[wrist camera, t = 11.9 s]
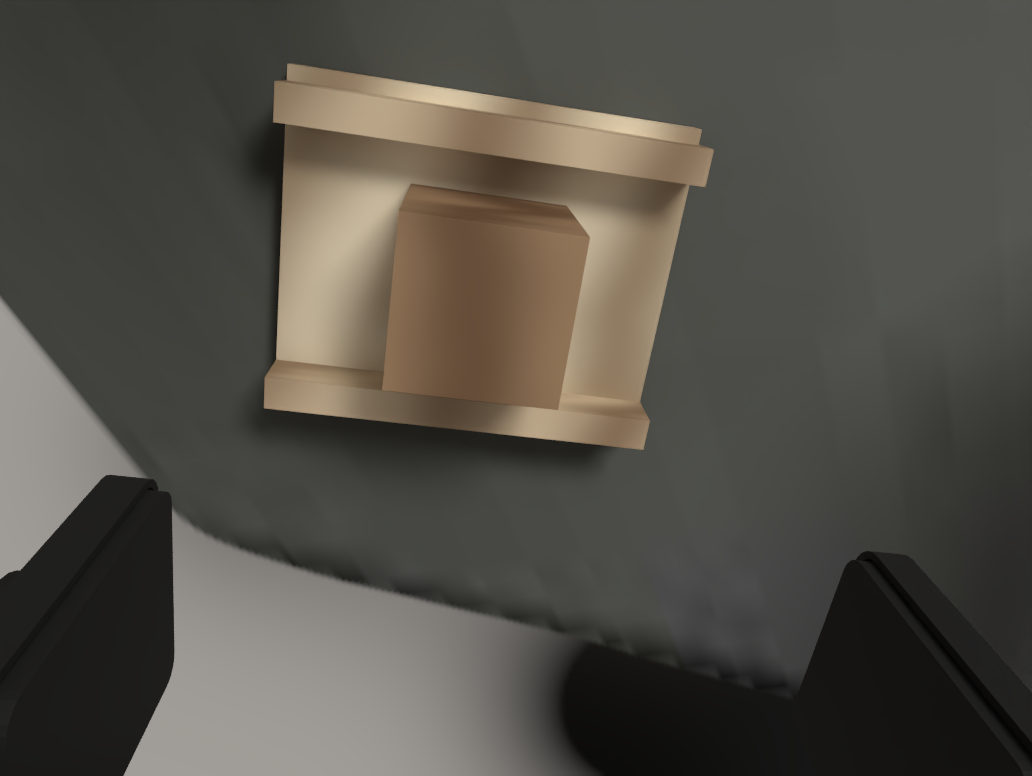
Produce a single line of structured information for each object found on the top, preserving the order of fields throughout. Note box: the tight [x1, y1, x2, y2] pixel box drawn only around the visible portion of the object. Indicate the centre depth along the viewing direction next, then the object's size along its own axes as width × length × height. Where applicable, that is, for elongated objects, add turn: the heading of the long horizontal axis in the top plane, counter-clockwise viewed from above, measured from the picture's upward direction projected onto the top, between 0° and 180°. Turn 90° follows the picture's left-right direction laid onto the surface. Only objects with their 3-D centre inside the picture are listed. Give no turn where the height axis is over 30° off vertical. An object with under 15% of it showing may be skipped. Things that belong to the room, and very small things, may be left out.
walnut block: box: [382, 183, 590, 410], centre depth 26 cm, size 6×6×6 cm
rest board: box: [264, 64, 714, 450], centre depth 28 cm, size 14×12×3 cm
